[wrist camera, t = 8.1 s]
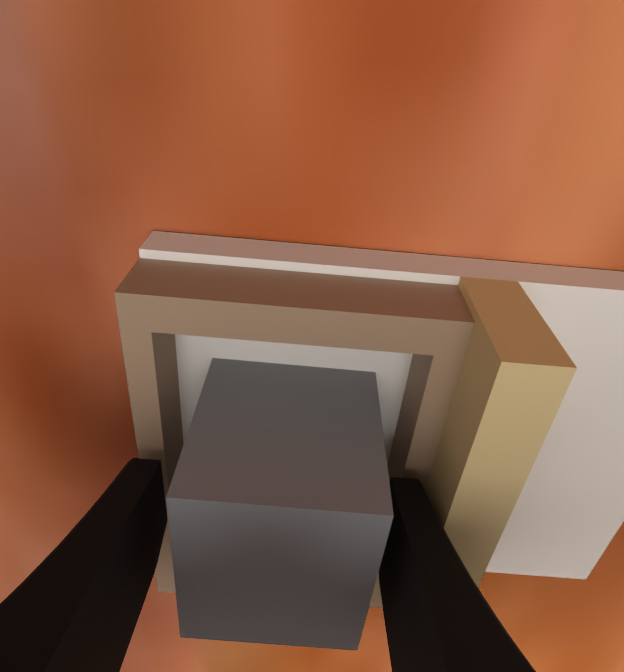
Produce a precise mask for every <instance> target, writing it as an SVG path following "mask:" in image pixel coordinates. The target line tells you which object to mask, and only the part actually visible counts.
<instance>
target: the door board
mask: <svg viewBox="0 0 624 672" xmlns="http://www.w3.org/2000/svg"><path fill="white" fill-rule="evenodd" d="M139 255H140V258H139V260H138V261H137V262H136V264H135V265H134V266H133V268H132V269H131V270H130V272H129V273H128V274H127V276H126V277H125V278H124V280H123V281H122V282H121V284H120V285H119V286H118V288H117V289H116V290H115V292H114V295H115V302H116V309H117V316H118V322H119V329H120V336H121V343H122V350H123V356H124V363H125V370H126V377H127V383H128V390H129V397H130V404H131V411H132V417H133V424H134V431H135V438H136V444H137V451H138V458H140V459H153V460H161V467H162V475H163V484H164V493H165V502H166V510H167V501H166V496H167V493H168V490H169V487H170V484H171V481H172V478H173V475H174V472H175V469H176V466H177V463H178V460H179V457H180V454H181V451H182V448H183V445H184V442H185V439H186V436H187V433H188V430H189V427H190V424H191V421H192V418H193V415H194V412H195V409H196V406H197V403H198V400H199V397H200V394H201V391H202V388H203V385H204V382H205V379H206V376H207V373H208V370H209V367H210V364H211V361H212V358H221V359H233V360H244V361H255V362H267V363H278V364H289V365H301V366H312V367H324V368H335V369H346V370H358V371H369V372H376V380H377V388H378V396H379V404H380V412H381V420H382V427H383V435H384V443H385V451H386V459H387V467H388V475H389V483H390V479H391V477H397V478H410V479H418V480H419V481H420V482H421V483H422V485H423V487H424V489H425V492H426V494H427V496H428V498H429V500H430V502H431V504H432V506H433V508H434V510H435V512H436V514H437V516H438V518H439V520H440V522H441V524H442V526H443V528H444V530H445V532H446V533H447V535H448V537H449V539H450V541H451V543H452V544H453V546H454V548H455V550H456V552H457V553H458V555H459V557H460V558H461V560H462V562H463V564H464V565H465V567H466V569H467V570H468V572H469V574H470V576H471V577H472V579H473V581H474V582H475V584H476V585H477V587H478V586H479V584H480V582H481V579H482V577H483V575H484V573H485V572H494V573H508V574H521V575H534V576H548V577H561V578H575V579H587V577H588V575H589V574H590V572H591V571H592V569H593V568H594V566H595V565H596V563H597V562H598V560H599V558H600V557H601V555H602V554H603V552H604V551H605V549H606V548H607V546H608V544H609V543H610V541H611V540H612V538H613V537H614V535H615V534H616V532H617V530H618V529H619V527H620V526H621V524H622V523H623V521H624V272H623V271H612V270H600V269H589V268H577V267H566V266H554V265H543V264H531V263H520V262H508V261H497V260H485V259H474V258H462V257H450V256H439V255H427V254H416V253H404V252H393V251H381V250H370V249H358V248H347V247H335V246H324V245H312V244H301V243H289V242H277V241H266V240H254V239H243V238H231V237H220V236H208V235H197V234H185V233H174V232H162V231H152V233H151V234H150V235H149V237H148V238H147V239H146V240H145V242H144V243H143V244H142V246H141V247H140V248H139ZM167 519H168V511H167ZM155 573H156V580H157V587H158V592H171V593H176V590H175V580H174V570H173V560H172V550H171V540H170V531H169V521H168V520H167V524H166V529H165V533H164V537H163V542H162V546H161V550H160V554H159V558H158V562H157V566H156V569H155ZM369 607H378V608H383V605H382V599H381V592H380V584H379V572H378V576H377V579H376V583H375V587H374V590H373V594H372V598H371V601H370V605H369Z"/></svg>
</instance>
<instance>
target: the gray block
mask: <svg viewBox="0 0 624 672" xmlns="http://www.w3.org/2000/svg"><path fill="white" fill-rule="evenodd" d="M166 501H167V511H168V521H169V531H170V540H171V550H172V560H173V570H174V580H175V590H176V599H177V609H178V619H179V629H180V637H183V638H197V639H210V640H224V641H237V642H250V643H264V644H277V645H291V646H304V647H317V648H331V649H344V650H357V649H358V646H359V642H360V638H361V635H362V631H363V627H364V624H365V620H366V616H367V612H368V609H369V605H370V601H371V598H372V594H373V590H374V587H375V583H376V579H377V576H378V572H379V568H380V565H381V561H382V557H383V553H384V550H385V546H386V542H387V539H388V535H389V531H390V528H391V524H392V520H393V517H394V515H393V507H392V499H391V491H390V483H389V475H388V467H387V459H386V451H385V443H384V435H383V427H382V420H381V412H380V404H379V396H378V388H377V380H376V372H369V371H358V370H346V369H335V368H324V367H312V366H301V365H289V364H278V363H267V362H255V361H244V360H233V359H221V358H212V361H211V364H210V367H209V370H208V373H207V376H206V379H205V382H204V385H203V388H202V391H201V394H200V397H199V400H198V403H197V406H196V409H195V412H194V415H193V418H192V421H191V424H190V427H189V430H188V433H187V436H186V439H185V442H184V445H183V448H182V451H181V454H180V457H179V460H178V463H177V466H176V469H175V472H174V475H173V478H172V481H171V484H170V487H169V490H168V493H167V496H166Z"/></svg>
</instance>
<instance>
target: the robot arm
mask: <svg viewBox="0 0 624 672" xmlns="http://www.w3.org/2000/svg"><path fill="white" fill-rule="evenodd" d="M390 491H391V499H392V507H393V515H394V517H393V520H392V524H391V528H390V531H389V535H388V539H387V542H386V546H385V550H384V553H383V557H382V561H381V565H380V568H379V584H380V592H381V599H382V605H383V612H384V619H385V626H386V633H387V640H388V646H389V653H390V660H391V667H392V672H536V671H535V670H534V669H533V667H532V666H531V665H530V663H529V662H528V660H527V659H526V658H525V656H524V655H523V654H522V652H521V651H520V650H519V648H518V647H517V645H516V644H515V643H514V641H513V640H512V638H511V637H510V636H509V634H508V633H507V631H506V630H505V628H504V627H503V625H502V624H501V623H500V621H499V620H498V618H497V617H496V615H495V614H494V612H493V610H492V609H491V607H490V606H489V604H488V603H487V601H486V600H485V598H484V597H483V595H482V593H481V592H480V590H479V589H478V587H477V585H476V584H475V582H474V581H473V579H472V577H471V576H470V574H469V572H468V570H467V569H466V567H465V565H464V564H463V562H462V560H461V558H460V557H459V555H458V553H457V552H456V550H455V548H454V546H453V544H452V543H451V541H450V539H449V537H448V535H447V533H446V532H445V530H444V528H443V526H442V524H441V522H440V520H439V518H438V516H437V514H436V512H435V510H434V508H433V506H432V504H431V502H430V500H429V498H428V496H427V494H426V492H425V489H424V487H423V485H422V483H421V482H420V481H419V480H418V479H410V478H397V477H391V479H390ZM167 520H168V519H167V510H166V502H165V493H164V484H163V475H162V467H161V460H153V459H140V458H133V459H131V460H130V461H128V463H127V464H126V465H125V467H124V468H123V469H122V471H121V472H120V473H119V474H118V476H117V477H116V478H115V479H114V481H113V482H112V483H111V485H110V486H109V487H108V488H107V489H106V491H105V492H104V493H103V494H102V496H101V497H100V498H99V499H98V500H97V502H96V503H95V504H94V505H93V506H92V508H91V509H90V510H89V511H88V512H87V513H86V515H85V516H84V517H83V518H82V519H81V520H80V521H79V522H78V524H77V525H76V526H75V527H74V528H73V529H72V530H71V531H70V533H69V534H68V535H67V536H66V537H65V538H64V539H63V541H62V542H61V543H60V544H59V545H58V546H57V547H56V548H55V549H54V550H53V551H52V552H51V553H50V554H49V555H48V556H47V557H46V558H45V560H44V561H43V562H42V563H41V564H40V565H39V566H38V567H37V568H36V569H35V570H34V571H33V572H32V573H31V574H30V575H29V576H28V577H27V578H26V579H25V580H24V581H23V582H22V583H21V584H20V585H19V586H18V587H17V588H16V589H15V590H14V591H13V592H12V593H11V594H10V595H9V596H8V597H7V598H6V599H5V600H4V601H3V602H2V603H0V672H119V671H120V668H121V665H122V662H123V660H124V657H125V654H126V651H127V648H128V646H129V643H130V640H131V637H132V634H133V632H134V629H135V626H136V623H137V620H138V618H139V615H140V612H141V609H142V606H143V603H144V601H145V598H146V595H147V592H148V589H149V586H150V584H151V581H152V578H153V575H154V572H155V569H156V566H157V562H158V558H159V554H160V550H161V546H162V542H163V537H164V533H165V529H166V524H167Z"/></svg>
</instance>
